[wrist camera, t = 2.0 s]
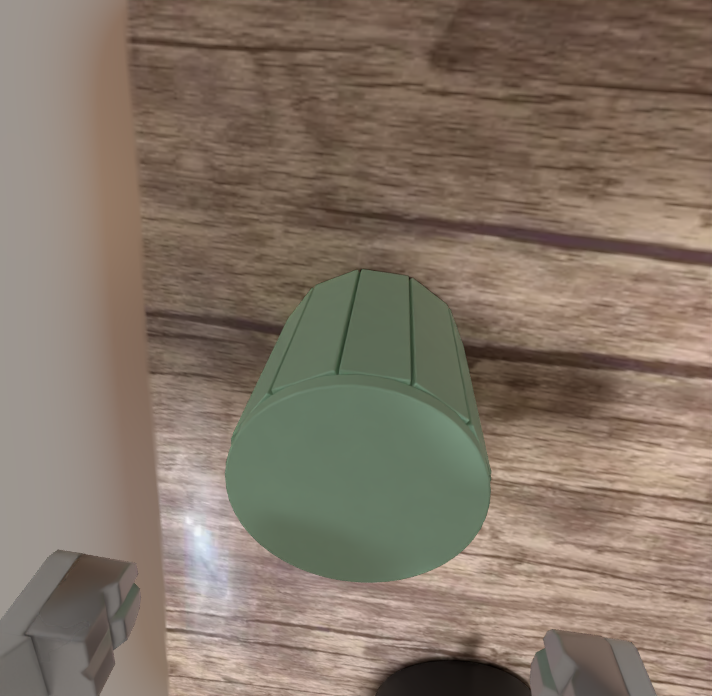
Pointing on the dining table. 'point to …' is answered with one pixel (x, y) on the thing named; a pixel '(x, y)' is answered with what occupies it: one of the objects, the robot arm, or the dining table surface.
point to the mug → (452, 681)
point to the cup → (363, 435)
